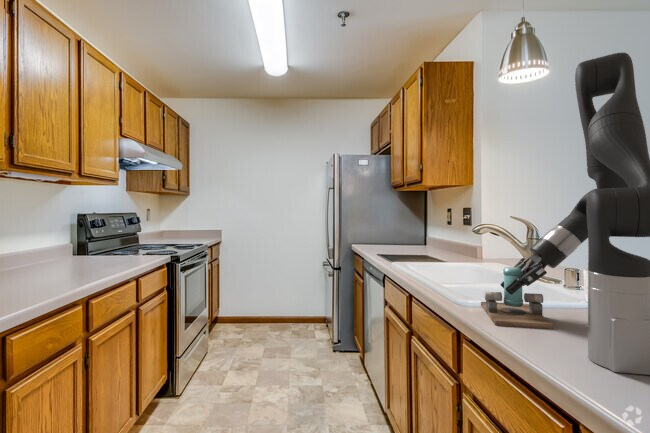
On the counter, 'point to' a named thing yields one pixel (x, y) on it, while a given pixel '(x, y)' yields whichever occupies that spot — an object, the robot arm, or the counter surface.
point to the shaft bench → (516, 311)
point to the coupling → (509, 277)
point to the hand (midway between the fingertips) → (505, 289)
